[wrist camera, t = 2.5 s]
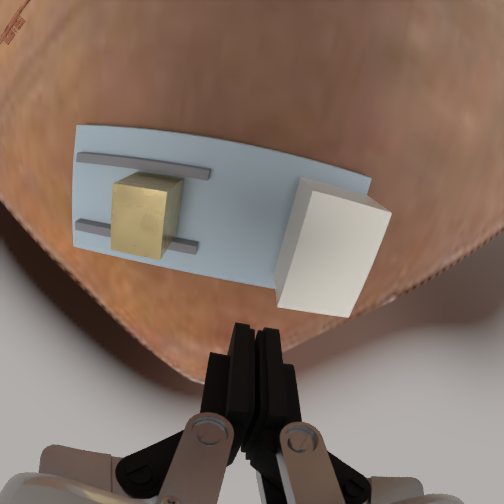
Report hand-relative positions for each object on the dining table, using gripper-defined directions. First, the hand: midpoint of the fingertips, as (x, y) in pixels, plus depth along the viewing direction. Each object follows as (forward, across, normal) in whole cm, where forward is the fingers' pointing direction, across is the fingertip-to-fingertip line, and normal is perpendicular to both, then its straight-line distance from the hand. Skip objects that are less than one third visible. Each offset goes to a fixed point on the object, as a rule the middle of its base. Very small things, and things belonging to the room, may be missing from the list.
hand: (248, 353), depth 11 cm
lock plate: (+16, +4, -1) cm, 16 cm away
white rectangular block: (+14, -6, -1) cm, 16 cm away
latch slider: (+14, +8, -1) cm, 16 cm away
